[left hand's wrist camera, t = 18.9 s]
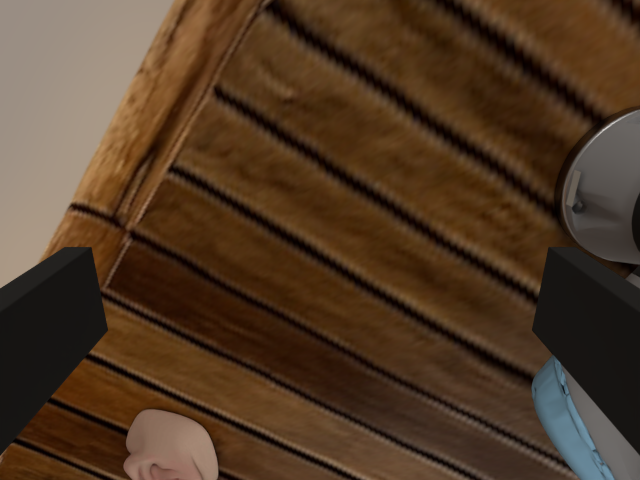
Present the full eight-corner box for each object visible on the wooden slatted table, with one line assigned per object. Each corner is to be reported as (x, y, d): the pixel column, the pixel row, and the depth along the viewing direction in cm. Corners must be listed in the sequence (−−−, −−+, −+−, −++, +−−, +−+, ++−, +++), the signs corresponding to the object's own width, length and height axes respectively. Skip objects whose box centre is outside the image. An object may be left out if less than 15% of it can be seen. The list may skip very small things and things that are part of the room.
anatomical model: (106, 432, 48) (208, 436, 48) (121, 407, 52) (216, 411, 52) (119, 515, 53) (212, 518, 53) (132, 487, 56) (219, 490, 57)
